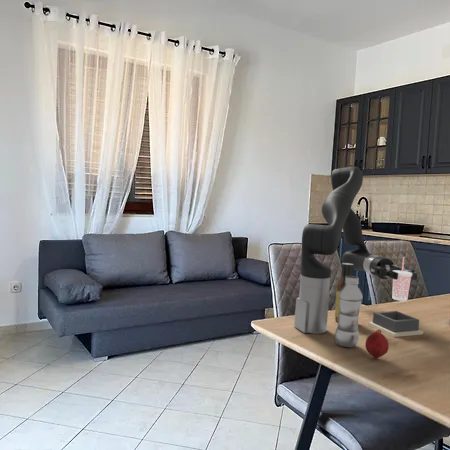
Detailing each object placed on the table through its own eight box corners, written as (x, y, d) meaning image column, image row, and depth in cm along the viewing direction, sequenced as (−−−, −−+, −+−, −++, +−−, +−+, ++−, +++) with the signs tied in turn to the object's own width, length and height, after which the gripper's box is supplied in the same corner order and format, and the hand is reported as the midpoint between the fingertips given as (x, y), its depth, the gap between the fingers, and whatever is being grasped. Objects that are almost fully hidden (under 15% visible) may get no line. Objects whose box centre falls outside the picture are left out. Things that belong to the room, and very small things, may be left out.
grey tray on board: (393, 337, 135) (394, 322, 135) (367, 324, 146) (368, 311, 146) (423, 334, 139) (424, 320, 139) (395, 322, 151) (397, 309, 150)
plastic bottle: (329, 342, 126) (335, 275, 125) (348, 340, 129) (353, 274, 127) (343, 351, 121) (349, 280, 119) (363, 348, 123) (369, 279, 122)
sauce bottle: (355, 325, 145) (360, 266, 144) (336, 323, 145) (341, 265, 144) (350, 319, 152) (355, 262, 150) (332, 317, 152) (336, 261, 150)
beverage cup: (388, 299, 141) (392, 256, 140) (390, 295, 147) (394, 254, 145) (409, 302, 139) (413, 259, 137) (410, 298, 144) (414, 256, 143)
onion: (375, 364, 112) (378, 334, 112) (359, 356, 118) (362, 327, 117) (391, 361, 115) (394, 331, 114) (375, 353, 120) (377, 325, 120)
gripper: (360, 255, 154) (387, 264, 138) (397, 256, 157) (427, 265, 141) (359, 276, 155) (385, 287, 138) (395, 277, 158) (425, 288, 141)
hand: (406, 276), depth 140 cm, fingers closed on beverage cup, 6 cm apart
